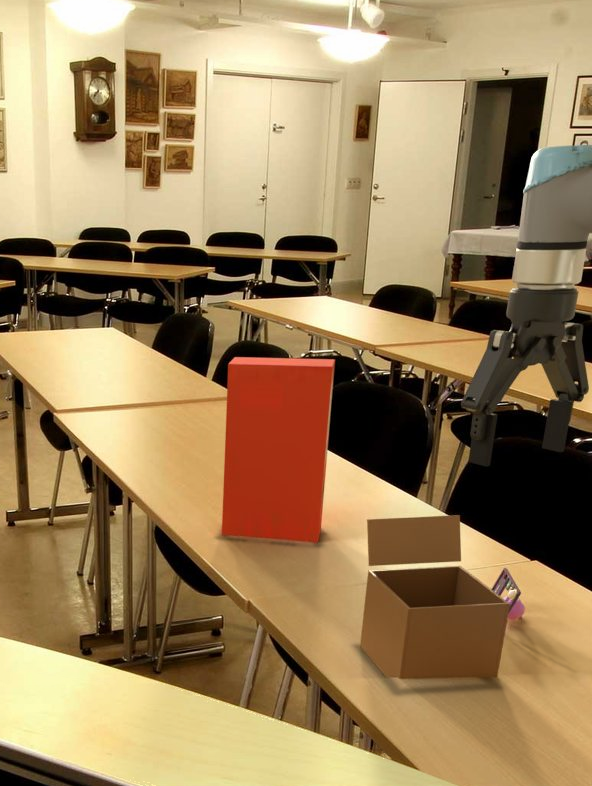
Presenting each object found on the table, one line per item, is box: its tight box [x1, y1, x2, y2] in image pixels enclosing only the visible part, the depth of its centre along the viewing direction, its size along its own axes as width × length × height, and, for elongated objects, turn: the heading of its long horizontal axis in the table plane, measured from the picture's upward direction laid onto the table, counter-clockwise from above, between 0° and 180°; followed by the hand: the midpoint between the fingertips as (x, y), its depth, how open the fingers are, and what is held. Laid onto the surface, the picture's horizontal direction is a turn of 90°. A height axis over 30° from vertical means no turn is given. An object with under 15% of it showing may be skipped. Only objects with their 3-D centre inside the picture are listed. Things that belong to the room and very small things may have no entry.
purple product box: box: [490, 567, 526, 620], centre depth 132 cm, size 7×5×9 cm
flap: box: [366, 514, 462, 567], centre depth 122 cm, size 6×13×1 cm
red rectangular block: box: [221, 356, 336, 544], centre depth 163 cm, size 8×17×32 cm, turn 71°
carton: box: [359, 565, 510, 680], centre depth 119 cm, size 13×13×11 cm
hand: (516, 456), depth 118 cm, fingers open, 13 cm apart
